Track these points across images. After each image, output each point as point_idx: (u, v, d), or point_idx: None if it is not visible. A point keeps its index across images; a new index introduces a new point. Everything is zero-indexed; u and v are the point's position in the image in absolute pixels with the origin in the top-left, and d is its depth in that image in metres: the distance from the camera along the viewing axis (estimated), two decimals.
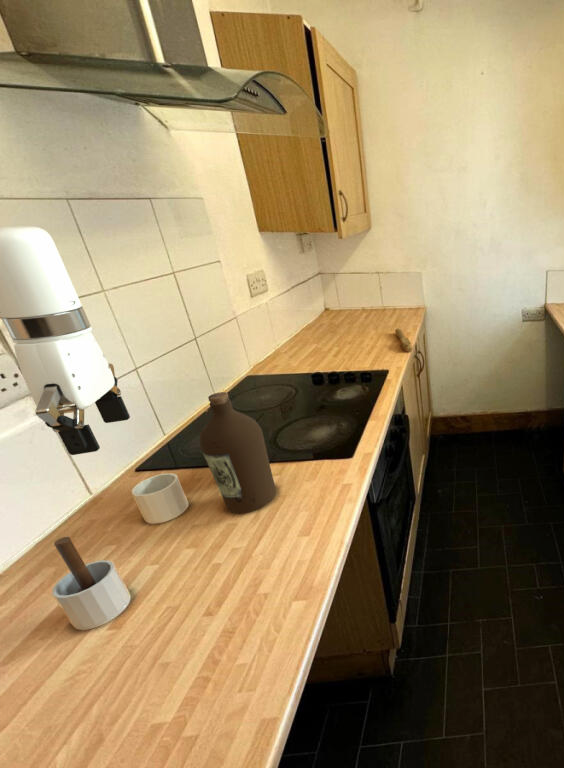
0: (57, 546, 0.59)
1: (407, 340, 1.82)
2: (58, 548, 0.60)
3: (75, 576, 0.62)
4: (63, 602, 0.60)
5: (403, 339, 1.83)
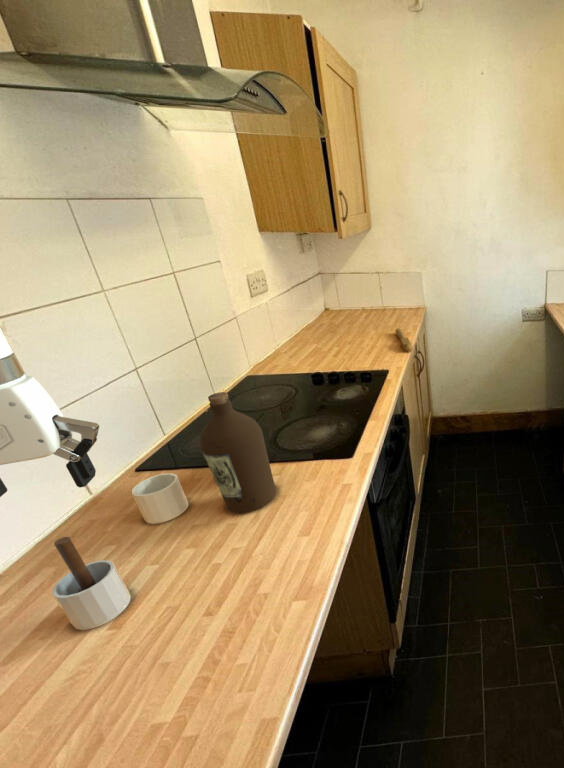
0: (57, 546, 0.59)
1: (407, 340, 1.82)
2: (58, 548, 0.60)
3: (75, 576, 0.62)
4: (63, 602, 0.60)
5: (403, 339, 1.83)
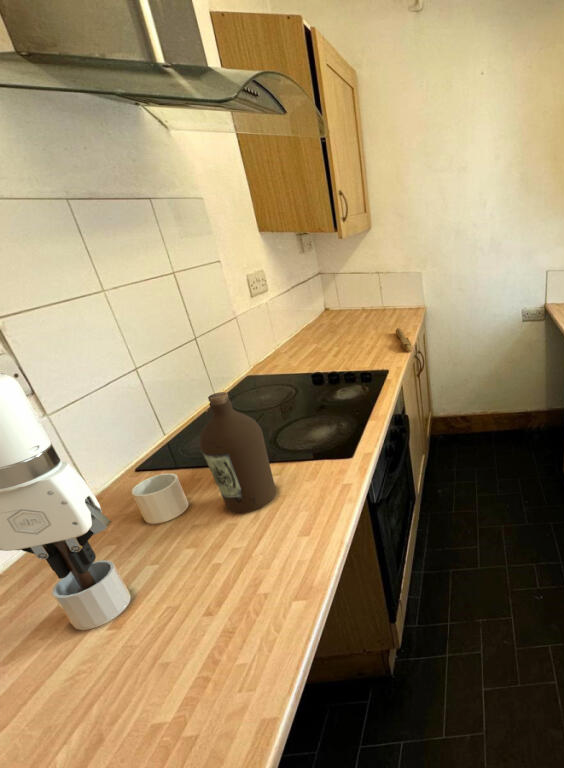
0: (57, 546, 0.59)
1: (407, 340, 1.82)
2: (58, 548, 0.59)
3: (75, 576, 0.62)
4: (63, 602, 0.60)
5: (403, 339, 1.83)
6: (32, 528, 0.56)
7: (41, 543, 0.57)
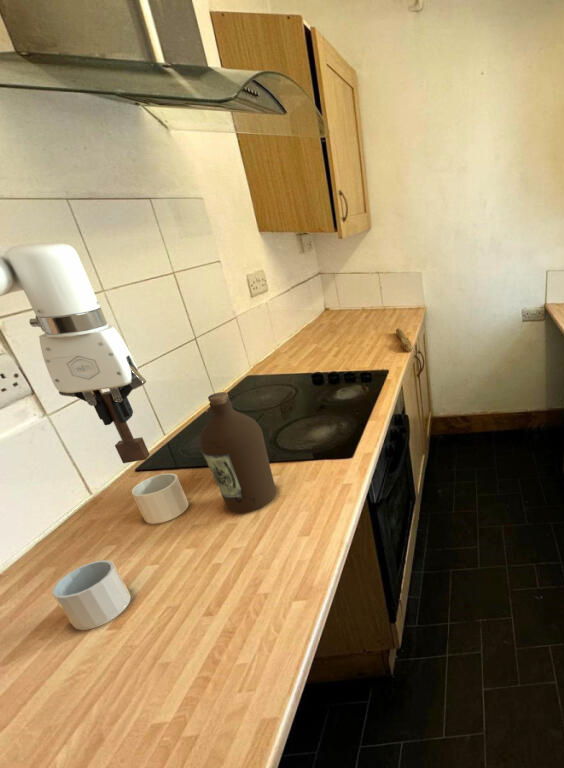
0: (103, 396, 0.73)
1: (407, 340, 1.82)
2: (104, 398, 0.73)
3: (116, 425, 0.75)
4: (63, 602, 0.60)
5: (403, 339, 1.83)
6: (85, 374, 0.69)
7: (92, 388, 0.70)
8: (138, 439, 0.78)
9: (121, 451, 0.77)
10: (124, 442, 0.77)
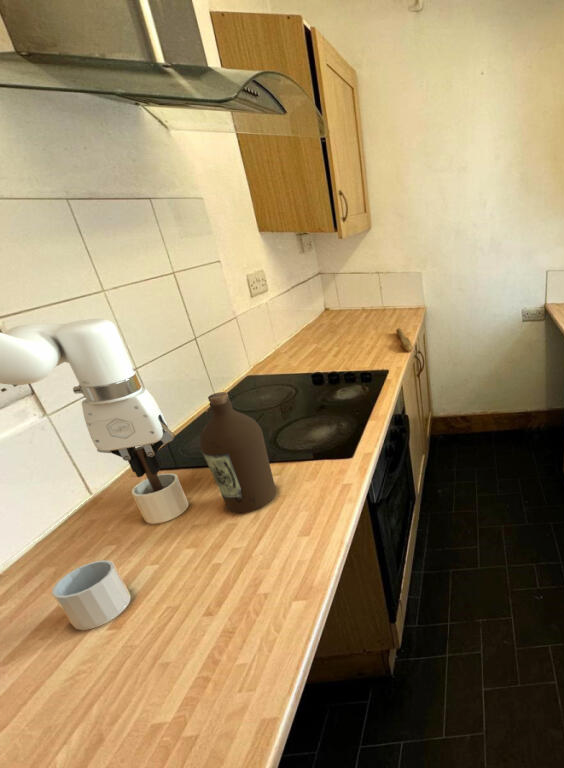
0: (137, 451, 0.80)
1: (407, 340, 1.82)
2: (138, 453, 0.80)
3: (148, 477, 0.82)
4: (63, 602, 0.60)
5: (403, 339, 1.83)
6: (122, 434, 0.76)
7: (128, 446, 0.77)
8: None
9: None
10: (154, 491, 0.84)
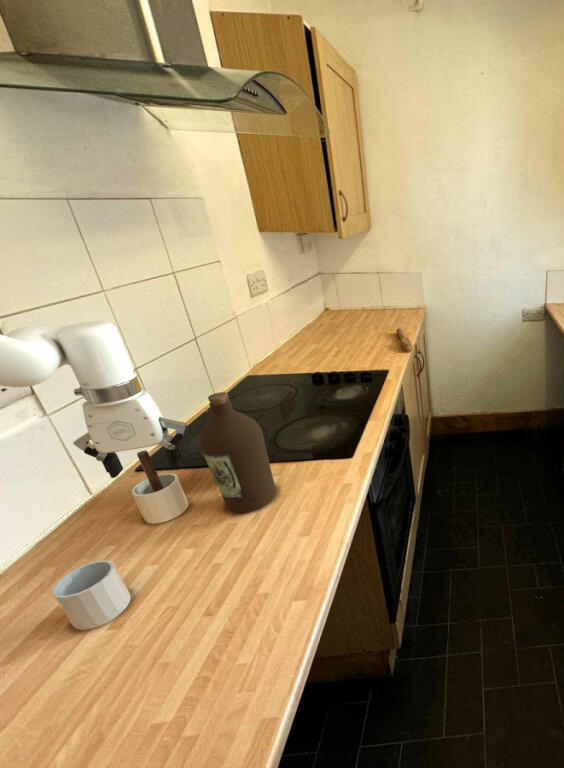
0: (139, 456, 0.80)
1: (407, 340, 1.82)
2: (140, 458, 0.81)
3: (150, 481, 0.83)
4: (63, 602, 0.60)
5: (403, 339, 1.83)
6: (123, 436, 0.76)
7: (128, 448, 0.77)
8: None
9: None
10: None
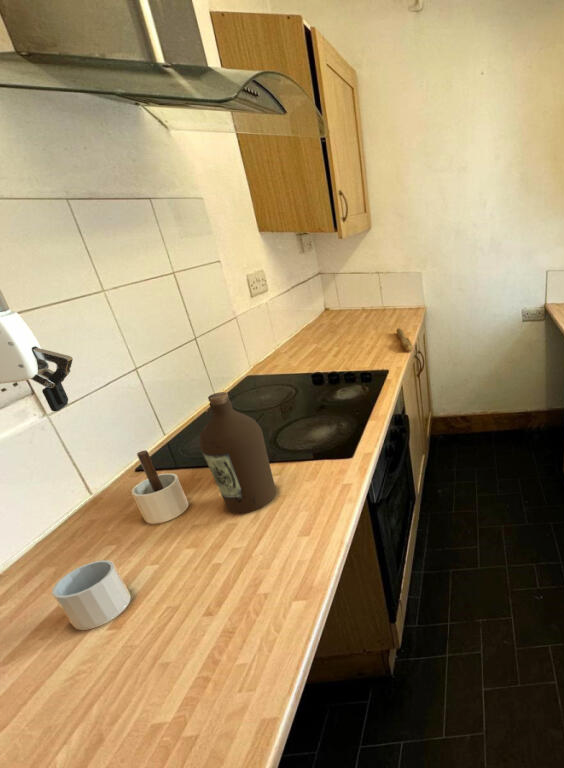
0: (139, 456, 0.80)
1: (407, 340, 1.82)
2: (140, 458, 0.81)
3: (150, 481, 0.83)
4: (63, 602, 0.60)
5: (403, 339, 1.83)
6: None
7: None
8: None
9: None
10: None
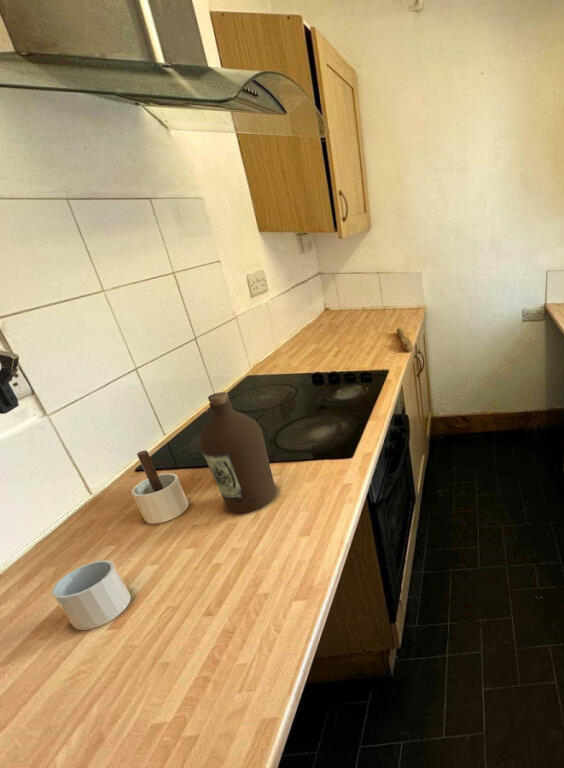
0: (139, 456, 0.80)
1: (407, 340, 1.82)
2: (140, 458, 0.81)
3: (150, 481, 0.83)
4: (63, 602, 0.60)
5: (404, 339, 1.83)
6: None
7: None
8: None
9: None
10: None
